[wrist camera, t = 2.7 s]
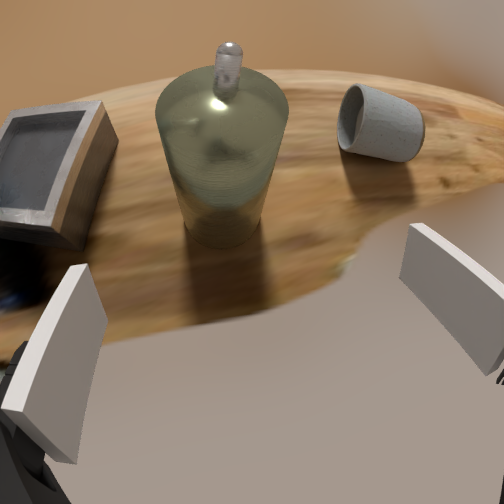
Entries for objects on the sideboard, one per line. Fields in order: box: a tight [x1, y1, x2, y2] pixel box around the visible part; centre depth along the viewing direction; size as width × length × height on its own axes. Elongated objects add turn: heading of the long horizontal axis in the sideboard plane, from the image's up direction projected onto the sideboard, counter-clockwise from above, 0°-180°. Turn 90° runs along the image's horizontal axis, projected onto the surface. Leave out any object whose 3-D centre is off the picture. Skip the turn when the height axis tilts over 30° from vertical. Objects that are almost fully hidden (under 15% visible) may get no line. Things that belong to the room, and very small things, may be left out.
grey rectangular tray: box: [0, 101, 119, 252], centre depth 24 cm, size 16×13×6 cm
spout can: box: [155, 42, 289, 249], centre depth 20 cm, size 7×7×16 cm
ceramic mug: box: [337, 84, 425, 162], centre depth 29 cm, size 11×8×8 cm
